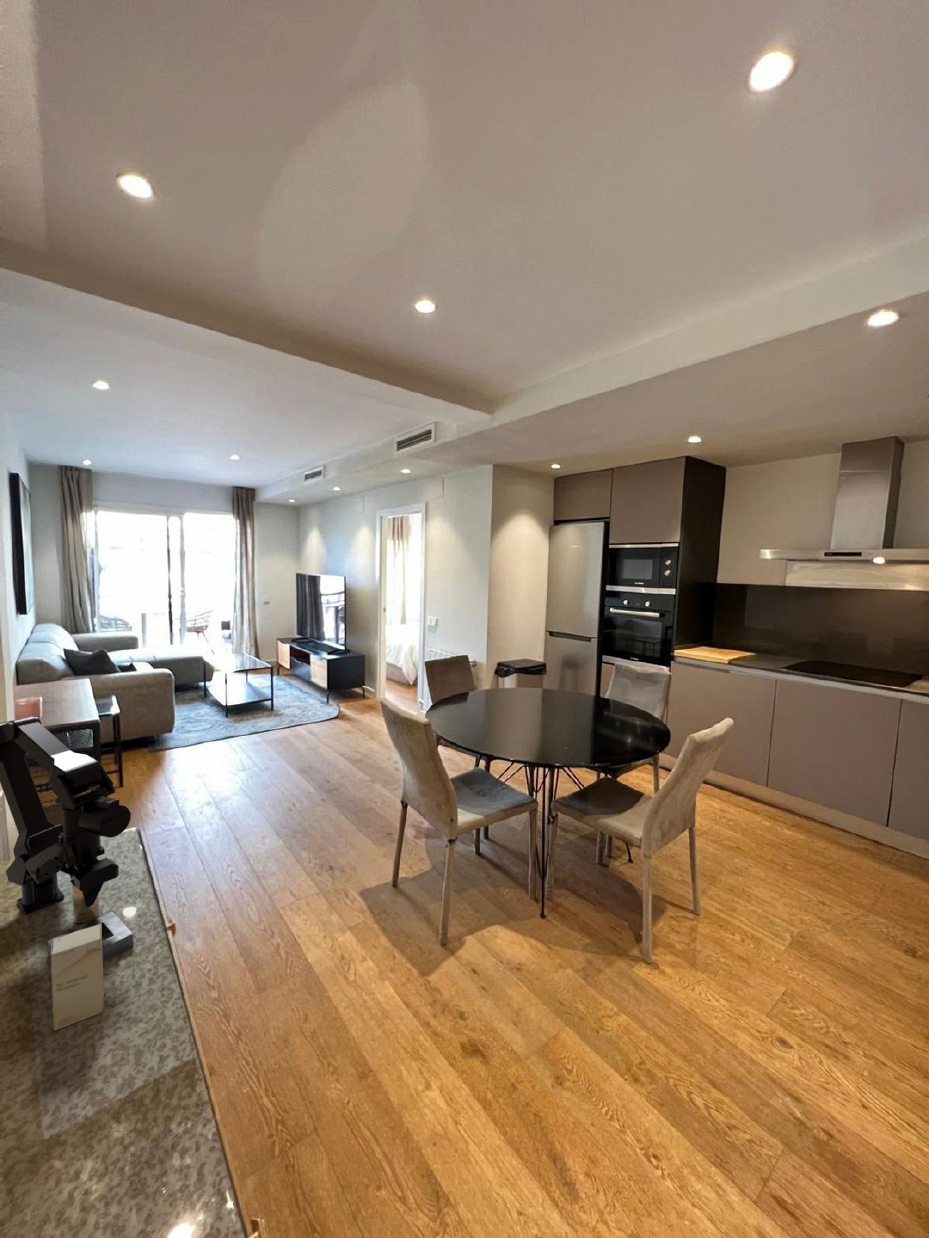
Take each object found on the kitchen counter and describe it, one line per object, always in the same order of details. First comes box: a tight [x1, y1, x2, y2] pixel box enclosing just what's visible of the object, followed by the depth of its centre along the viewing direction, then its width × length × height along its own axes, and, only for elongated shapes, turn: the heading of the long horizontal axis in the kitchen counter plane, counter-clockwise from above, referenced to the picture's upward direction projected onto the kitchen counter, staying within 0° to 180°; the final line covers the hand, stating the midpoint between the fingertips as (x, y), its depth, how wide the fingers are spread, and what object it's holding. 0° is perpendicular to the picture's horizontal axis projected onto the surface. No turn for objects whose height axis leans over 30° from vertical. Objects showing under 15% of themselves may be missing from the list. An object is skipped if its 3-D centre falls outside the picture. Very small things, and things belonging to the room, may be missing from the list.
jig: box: [47, 911, 134, 963], centre depth 90 cm, size 10×10×2 cm
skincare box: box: [50, 924, 105, 1031], centre depth 77 cm, size 6×4×12 cm
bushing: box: [71, 873, 100, 924], centre depth 99 cm, size 4×4×9 cm
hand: (86, 901), depth 99 cm, fingers closed on bushing, 4 cm apart
